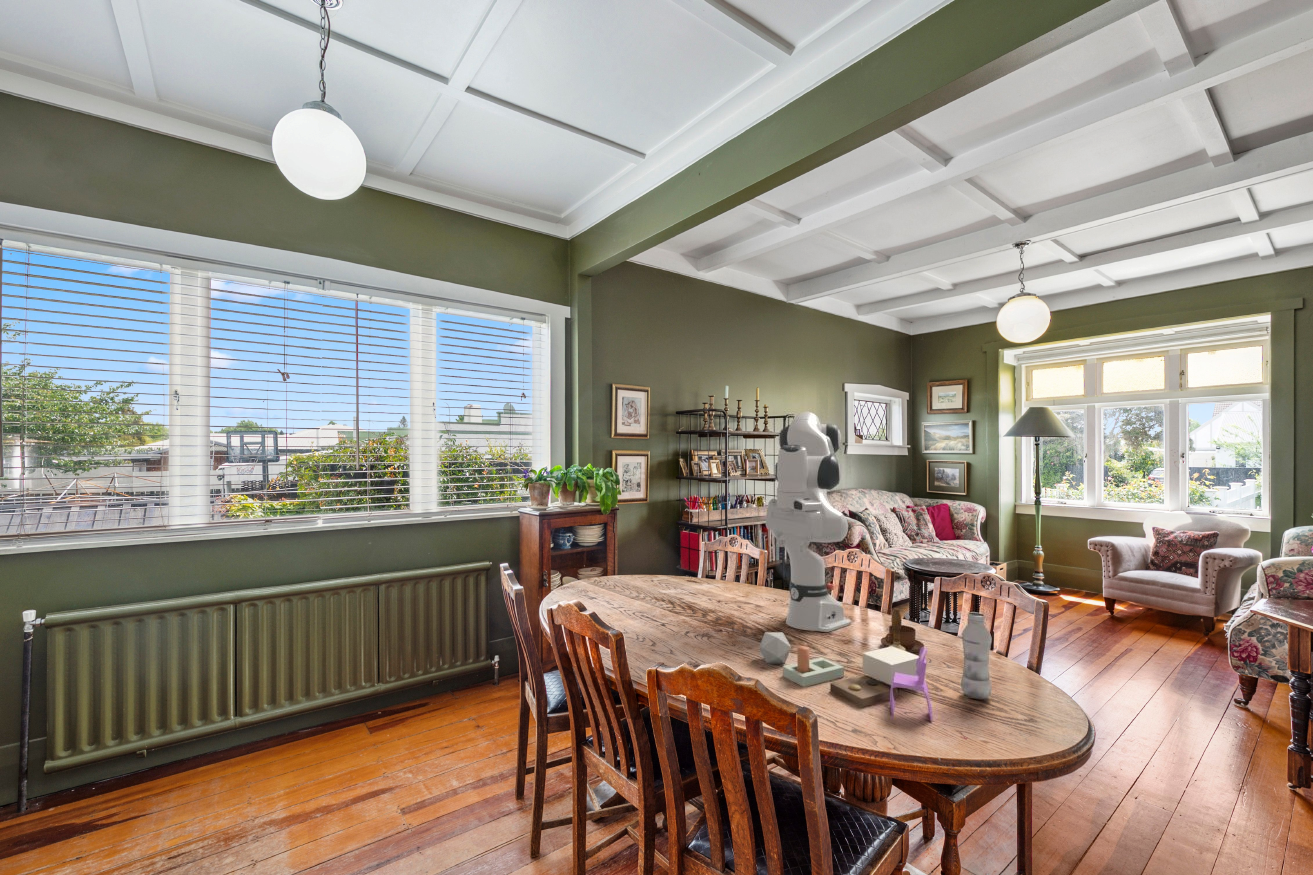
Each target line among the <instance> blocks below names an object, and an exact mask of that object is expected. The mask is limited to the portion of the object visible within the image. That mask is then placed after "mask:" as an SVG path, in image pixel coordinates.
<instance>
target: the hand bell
mask: <svg viewBox="0 0 1313 875" xmlns="http://www.w3.org/2000/svg"><path fill="white" fill-rule="evenodd" d="M890 619H891V625H892V627H893V631H894V636H893V638H894V639H893V645H890V646H889V647H891V646H893V647H896V648H898V649H901V650H904V651H906V649H905V648H904V647H902V646H901V645H900V629H901V625H902V616H901V611H900V608H897V607H895V608H893V611H892V614H891V618H890Z"/></svg>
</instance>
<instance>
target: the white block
mask: <svg viewBox="0 0 1313 875" xmlns="http://www.w3.org/2000/svg"><path fill="white" fill-rule="evenodd" d="M918 658H919V655H917V654H915V653H909V652H906V651H904V650H901V649H898V648H896V647H893V646H891V647H887V648H886V647H884V648H879V649H875V650H870V651H865V652H862V674H863V675H864V674H865V675H867V676H869V677H872V678H874V679H876V680H879V681H881V682H883V683H885V684H888V685H890V686H891V685H892V680H893V678H894V676H895V672H896V673H902V674H906V675H912V676H918V674H917V673H916V671H917V666H916V663H917V660H918Z"/></svg>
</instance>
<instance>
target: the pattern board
mask: <svg viewBox="0 0 1313 875" xmlns="http://www.w3.org/2000/svg"><path fill="white" fill-rule="evenodd" d="M829 685H830V686H829V688H830V689H829V690H830V692H831V693H832V694H835V695H837V696H838V697H840V698H842V699H845V700H847V701H848V702H851V703H853V704H855V705H856V706H859V707H861V708H865V707H869V706H872V705H876V704H878V703H883V702H886V701H890V690H891V685H889V684H887V683H885V682H882V681H880V680H878V679H876V678H873V677H871V676H869V675H866V674H864V673H863V674H862V675H856V676H853V677H849V678H845V679H841V680H838V681H834V682H830V684H829ZM893 697H894V699H895V698H898V687H895V688H893Z"/></svg>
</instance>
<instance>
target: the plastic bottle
mask: <svg viewBox="0 0 1313 875" xmlns="http://www.w3.org/2000/svg"><path fill="white" fill-rule="evenodd" d="M966 620H967V622H968V623H967V625H966V626H965V627H964V628H963V629H962V632H961V642H962V648H963V667H962V668H963V669H962V676H961V680H960V687H961V691H962V693H963V694H964V695H965V696H966V697H968V698H971V699H975V700H987V699H989V698H990V696H991V694H992V689H993V688H992V683H991V678H990V666H989V664H990V661H989V660H990V651H991V648H992V647H991V645H992V641H993V640H992V639H993V638H992V636H991V633H990V631H989V630H988V628H987V627H986V626H985V624H986V615H985V614H984V613H980V612H975V611H971V612H968V613H967V619H966Z"/></svg>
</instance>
